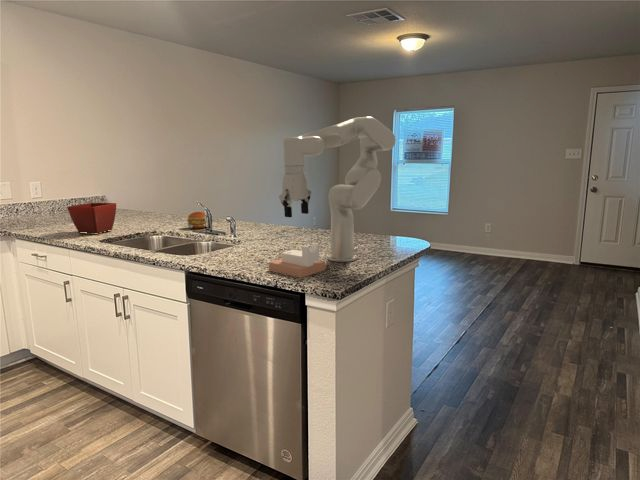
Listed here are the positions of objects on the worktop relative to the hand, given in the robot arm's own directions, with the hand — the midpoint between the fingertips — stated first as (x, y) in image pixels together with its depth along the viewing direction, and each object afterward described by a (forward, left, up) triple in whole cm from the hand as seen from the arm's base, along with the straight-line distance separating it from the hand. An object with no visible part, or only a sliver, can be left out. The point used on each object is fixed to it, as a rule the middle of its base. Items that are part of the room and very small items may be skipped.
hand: (296, 215), depth 171 cm
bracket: (+2, +3, -18) cm, 19 cm away
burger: (-36, -118, -22) cm, 125 cm away
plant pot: (+11, -155, -22) cm, 157 cm away
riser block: (+2, +1, -22) cm, 22 cm away
